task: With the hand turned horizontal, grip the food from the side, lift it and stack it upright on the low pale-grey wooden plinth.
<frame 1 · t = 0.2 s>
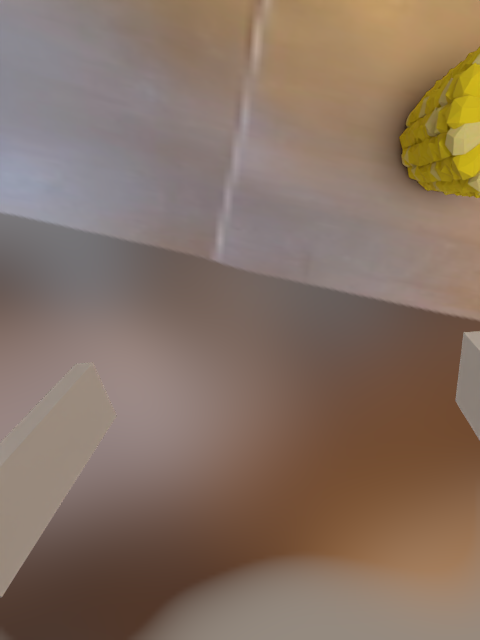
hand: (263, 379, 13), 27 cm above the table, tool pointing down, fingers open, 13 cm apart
food: (445, 132, 32), on the table
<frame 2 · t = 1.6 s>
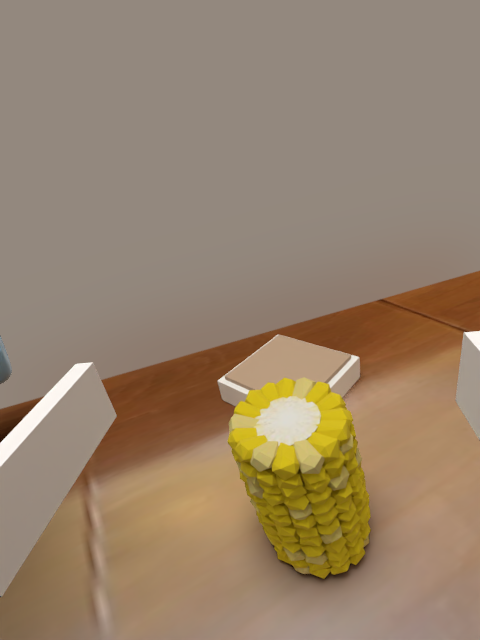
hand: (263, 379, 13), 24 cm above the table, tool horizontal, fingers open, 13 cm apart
food: (310, 527, 32), on the table
plinth: (290, 388, 49), on the table
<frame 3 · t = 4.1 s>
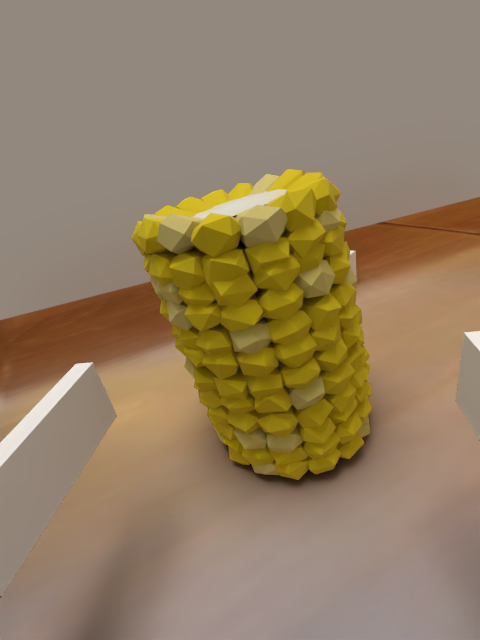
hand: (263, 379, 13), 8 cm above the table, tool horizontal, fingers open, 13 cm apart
food: (283, 425, 21), on the table
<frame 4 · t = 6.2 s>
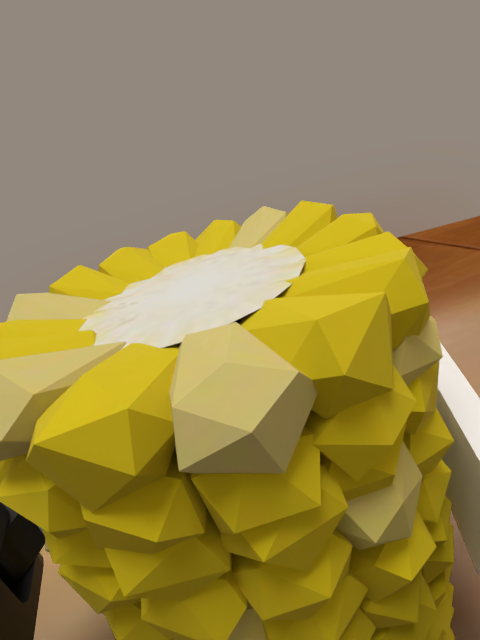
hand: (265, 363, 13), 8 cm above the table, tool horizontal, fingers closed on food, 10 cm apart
food: (289, 604, 13), on the table, touching gripper
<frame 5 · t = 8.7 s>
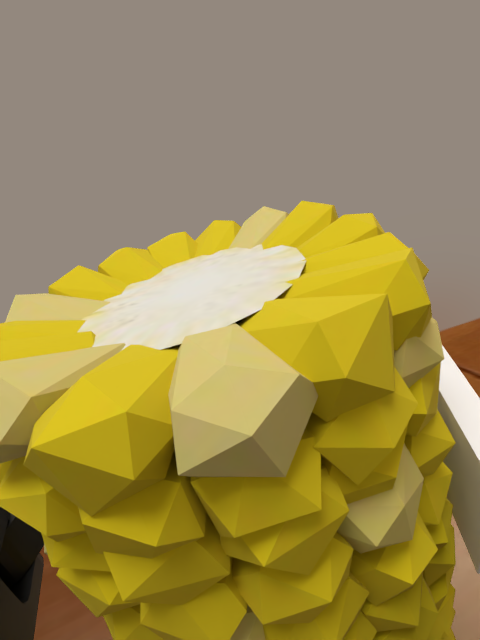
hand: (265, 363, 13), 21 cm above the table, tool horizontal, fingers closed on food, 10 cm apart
food: (289, 605, 13), point 12 cm above the table, touching gripper
when the fingers open (13 cm above the table, at t = 11.3 s): food drops 1 cm, resting on plinth.
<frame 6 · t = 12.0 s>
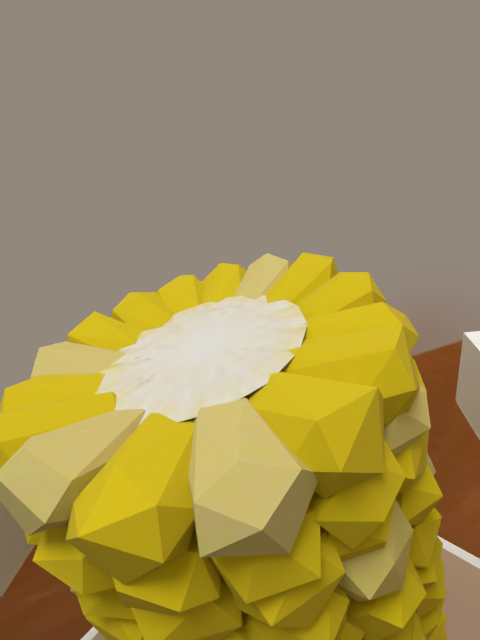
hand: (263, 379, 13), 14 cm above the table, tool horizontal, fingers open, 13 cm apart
food: (292, 622, 14), point 4 cm above the table, touching plinth
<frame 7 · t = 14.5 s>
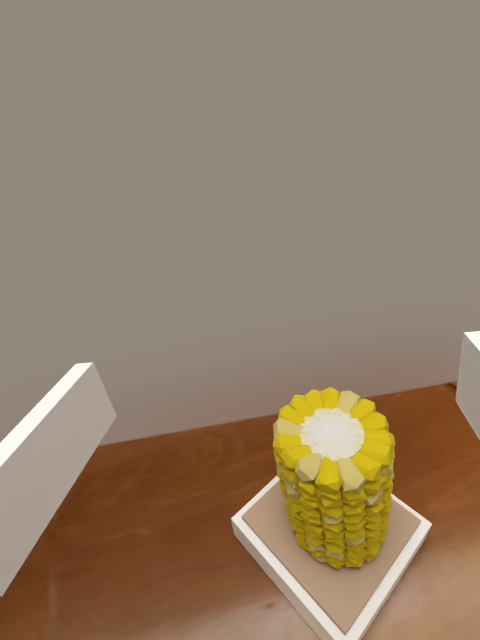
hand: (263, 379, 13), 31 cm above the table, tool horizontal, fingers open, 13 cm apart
food: (328, 519, 35), point 4 cm above the table, touching plinth
plinth: (326, 537, 37), on the table
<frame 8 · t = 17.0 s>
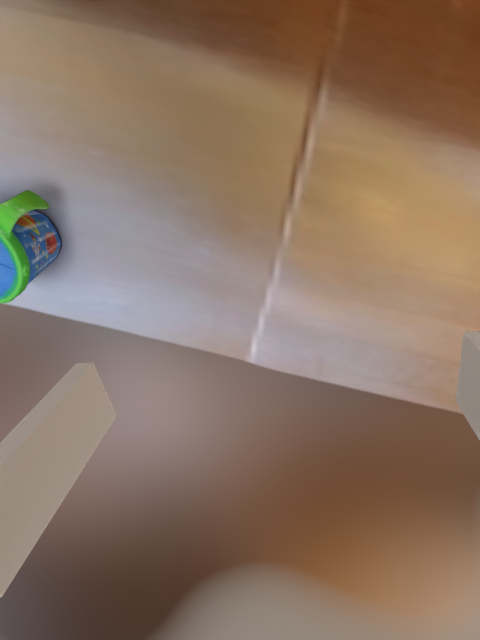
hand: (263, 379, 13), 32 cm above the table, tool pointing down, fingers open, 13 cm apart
snack cup: (37, 235, 46), on the table
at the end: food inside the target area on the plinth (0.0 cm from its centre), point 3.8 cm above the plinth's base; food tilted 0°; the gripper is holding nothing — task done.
